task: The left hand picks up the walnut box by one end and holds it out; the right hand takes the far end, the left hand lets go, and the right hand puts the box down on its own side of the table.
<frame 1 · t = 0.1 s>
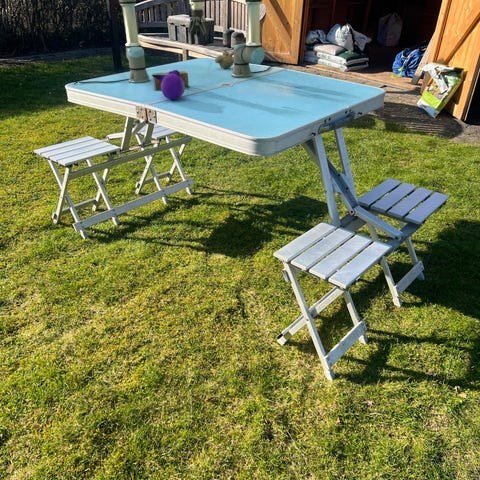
left hand: (196, 35, 349), 28 cm above the table, tool pointing down, fingers open, 13 cm apart
right hand: (199, 45, 299), 28 cm above the table, tool pointing down, fingers open, 13 cm apart
teapot: (226, 68, 379), on the table
box: (171, 88, 316), on the table
toy: (170, 97, 290), on the table
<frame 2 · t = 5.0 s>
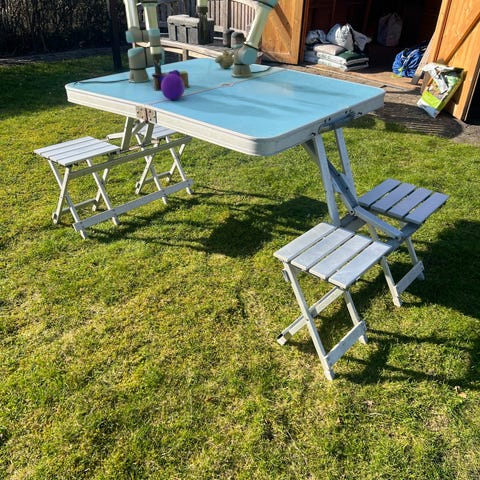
left hand: (159, 87, 314), 1 cm above the table, tool pointing down, fingers closed on box, 8 cm apart
right hand: (204, 40, 316), 29 cm above the table, tool pointing down, fingers open, 13 cm apart
box: (171, 88, 316), on the table, touching left hand
everything else where it was.
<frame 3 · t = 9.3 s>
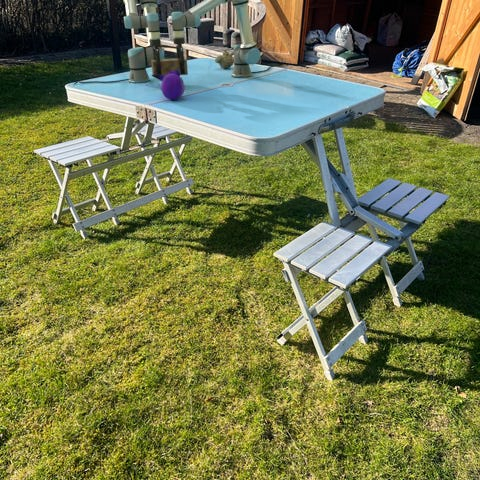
left hand: (158, 74, 309), 10 cm above the table, tool pointing down, fingers closed on box, 8 cm apart
right hand: (181, 72, 313), 10 cm above the table, tool pointing down, fingers closed on box, 8 cm apart
box: (170, 74, 312), point 9 cm above the table, touching left hand, right hand
everything else where it was.
when the left hand's fingers open (10 cm above the table, at t = 10.4 s): box stays where it is, held by the right hand.
when the right hand's fingers open (2 cm above the table, at t = 14.9 s): box drops 1 cm, on the table.
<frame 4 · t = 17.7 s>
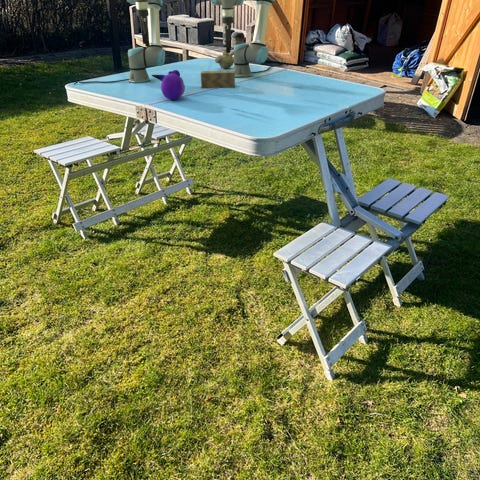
left hand: (146, 45, 298), 29 cm above the table, tool pointing down, fingers open, 13 cm apart
right hand: (228, 51, 305), 23 cm above the table, tool pointing down, fingers open, 13 cm apart
box: (218, 86, 317), on the table
everything else where it was.
at the end: box inside the target area (8.0 cm from its centre), on the table; the left hand is holding nothing; the right hand is holding nothing; box at rest at the end (0.0 cm/s) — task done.
